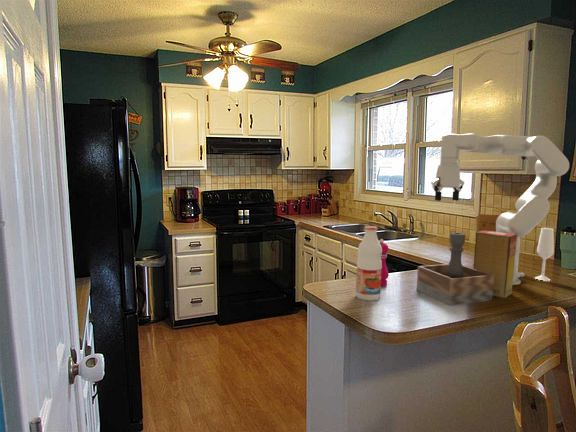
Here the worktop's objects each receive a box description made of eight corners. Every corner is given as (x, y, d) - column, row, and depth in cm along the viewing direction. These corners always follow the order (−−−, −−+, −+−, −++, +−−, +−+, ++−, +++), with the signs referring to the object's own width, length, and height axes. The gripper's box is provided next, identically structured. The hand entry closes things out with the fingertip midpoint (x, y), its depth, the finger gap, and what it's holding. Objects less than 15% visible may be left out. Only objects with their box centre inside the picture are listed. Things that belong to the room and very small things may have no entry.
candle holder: (456, 298, 157) (461, 235, 154) (442, 294, 162) (446, 233, 159) (464, 295, 161) (469, 234, 158) (449, 291, 166) (454, 231, 163)
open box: (455, 285, 174) (456, 263, 173) (492, 300, 156) (494, 275, 154) (416, 289, 168) (417, 266, 166) (450, 305, 149) (452, 279, 148)
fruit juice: (367, 292, 163) (370, 224, 160) (385, 298, 156) (388, 227, 152) (350, 296, 158) (353, 225, 154) (368, 302, 150) (371, 229, 147)
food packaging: (512, 293, 164) (518, 233, 161) (505, 298, 158) (510, 236, 154) (479, 286, 174) (483, 229, 170) (470, 291, 167) (475, 232, 164)
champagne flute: (546, 282, 182) (552, 230, 180) (531, 278, 188) (536, 228, 185) (553, 279, 186) (559, 229, 183) (538, 276, 192) (543, 227, 189)
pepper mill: (375, 280, 179) (377, 236, 177) (390, 284, 175) (393, 239, 172) (368, 284, 174) (370, 239, 171) (383, 287, 169) (385, 241, 167)
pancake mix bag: (513, 272, 199) (518, 216, 195) (471, 266, 209) (475, 213, 206) (514, 269, 204) (519, 215, 201) (474, 263, 215) (478, 212, 211)
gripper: (458, 162, 185) (456, 199, 187) (427, 161, 179) (425, 199, 181) (471, 162, 178) (468, 200, 180) (439, 161, 172) (436, 201, 174)
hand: (446, 200), depth 181 cm, fingers open, 9 cm apart
